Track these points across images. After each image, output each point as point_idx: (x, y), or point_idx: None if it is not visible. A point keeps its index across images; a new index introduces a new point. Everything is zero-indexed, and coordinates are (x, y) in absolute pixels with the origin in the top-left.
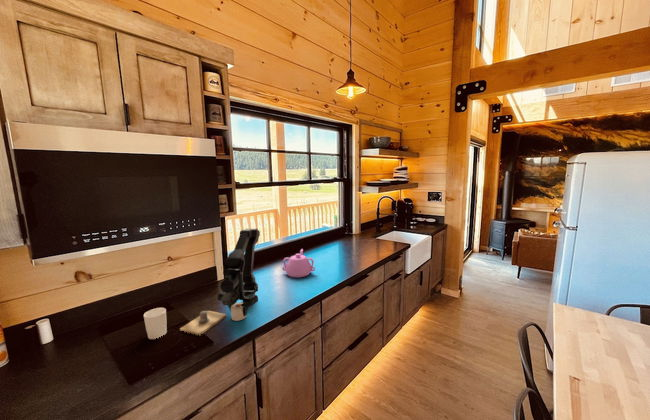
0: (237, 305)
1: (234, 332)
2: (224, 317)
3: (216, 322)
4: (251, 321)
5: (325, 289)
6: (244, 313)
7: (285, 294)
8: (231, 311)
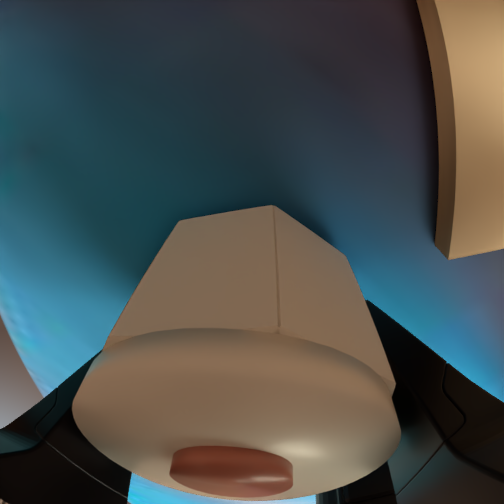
0: (229, 478)
1: (25, 57)
2: (438, 210)
3: (436, 46)
4: (66, 296)
5: (128, 500)
6: (97, 355)
7: (215, 498)
8: (277, 302)
